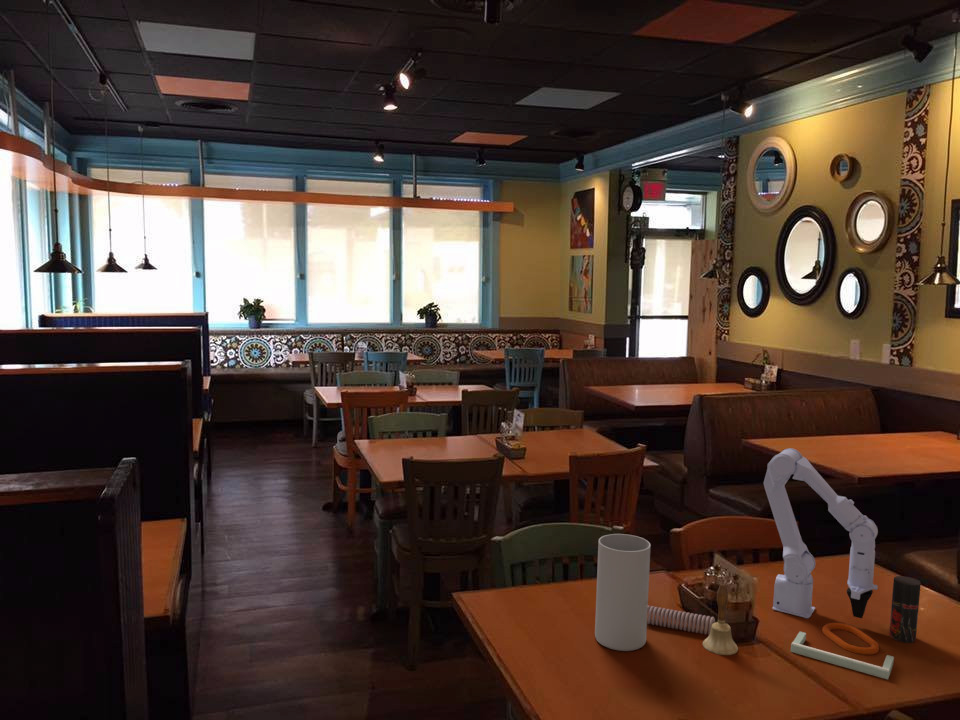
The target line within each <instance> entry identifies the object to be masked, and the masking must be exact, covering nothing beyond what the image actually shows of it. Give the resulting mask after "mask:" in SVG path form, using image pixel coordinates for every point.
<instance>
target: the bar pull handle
mask: <svg viewBox="0 0 960 720" xmlns="http://www.w3.org/2000/svg"><path fill="white" fill-rule="evenodd" d="M806 640H807V633H806V632H803V631H799V632H798V633H797V634H796V637H795V638H794V640H793V641H792V642H791V644H790V652H791V653H795V654H798V655H799V656H800V655H801V656H804V657H807V658H811V659H815V660H819V661H822V662H824V663H825V662H826V663H829V664H833V665H835V666H839V667H843V668H846V669H850V670H853V671H856V672H860V673H863V674H866V675H871V676H874V677H877V678H881V679H884V680H889V677H890V675H891V673H892V670H893V666H894V660H895V657H894V656H892V655H888V654H887V655H886V656H885V659H884V662H883V665H882V666H879V665H875V664H872V663H868V662H865V661H861V660H858V659H854V658H850V657H846V656H844V655H840V654H837V653H832V652H829V651H825V650H822V649H818V648H815V647H811V646H807V645H806V644H805V645H804V643H805V642H806Z"/></svg>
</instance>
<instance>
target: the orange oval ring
mask: <svg viewBox="0 0 960 720" xmlns="http://www.w3.org/2000/svg"><path fill="white" fill-rule="evenodd" d="M821 629H822V633H823V635H824V636H825V637H826V638H828V639H829V640H831V642H834V643H835V644H836V645H838V646H839V648H841V649H844V650H845V651H848V652H851V653H855V654H857V655H858V654H859V655H864V656H865V655H866V656H867V655H874V654H877V653H878V652H879V650H880V645H879V643H878V642H877V641H876V640H874V639H873V638H871V637H870V636H869V635H867V634H866V633H865V632H863V631H862V630H860V629H858V628H857V627H854V626H852V625H850V624H846V623H840V622H831V623H826V624H825V625H823V627H822V628H821ZM833 630H840V631H841V630H842V631H845V632H849V633H851V634H853V635H855V636H856V637H858V638H859V639H861V640H862V641H864V642H865V643H866V644H867V645H869V646H868V647H861V646H857V645H852V644H850V643H847V642H845V640H843V639H841V638H840V637H839V636H838V635H836V634H835V633H833V632H832V631H833Z"/></svg>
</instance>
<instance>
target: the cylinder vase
mask: <svg viewBox="0 0 960 720" xmlns="http://www.w3.org/2000/svg"><path fill="white" fill-rule="evenodd" d="M651 546H652V545H651V543H650V542H649V541H648V540H647V539H645V538H644V537H640V536H637V535H632V534H628V533H627V534H623V533H611V534H606V535H602V536H601V537H600V538H598V546H597V549H598V550H597V571H596V572H597V573H596V596H595V597H596V598H595V600H596V601H595V621H594V623H595V625H594V637H595V639H596V641H597V642H598V643H599V644H600V645H602V646H603V647H606V648H607V649H611V650H614V651H619V652H620V651H621V652H632V651H635V650H639V649H640V648H643V646H644V645H646V642H647V631H648V630H647V629H648V622H647V621H648V615H647V611H648V605H649V604H648V603H649V588H650V587H649V583H650V563H651Z"/></svg>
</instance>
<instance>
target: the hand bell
mask: <svg viewBox="0 0 960 720" xmlns="http://www.w3.org/2000/svg"><path fill="white" fill-rule="evenodd" d="M728 595H729V593H728V590H727V586H726V584H725V583H719V586H718V589H717V592H716V603H717V608H718V609H717V610H718V613H717V614H718V615H717V621H715V623H713V624H712V627H711V632H710V635H708V636H707V637H706V638H705V639H703V641H702V646H703V648H704V649H705V650H706V651H708V652H710V653H712V654H716V655H719V656H721V655H722V656H732V655H735V654H736V653H738V651H739V647H738V645H737V644H736V642H735V641H734V639H733V636H732V629H731V626H730V625H729V624H728V623H726V607H727V605H728V599H729V598H728V597H729V596H728Z"/></svg>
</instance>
